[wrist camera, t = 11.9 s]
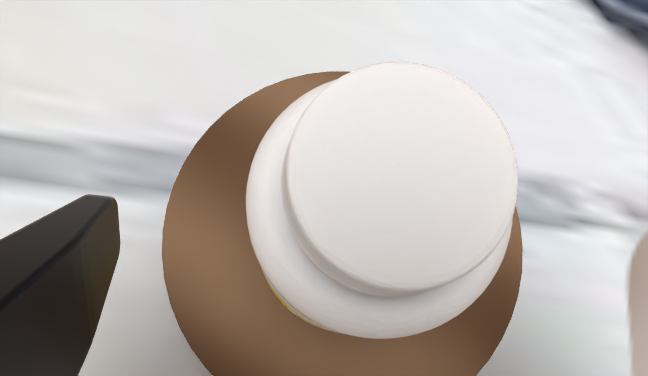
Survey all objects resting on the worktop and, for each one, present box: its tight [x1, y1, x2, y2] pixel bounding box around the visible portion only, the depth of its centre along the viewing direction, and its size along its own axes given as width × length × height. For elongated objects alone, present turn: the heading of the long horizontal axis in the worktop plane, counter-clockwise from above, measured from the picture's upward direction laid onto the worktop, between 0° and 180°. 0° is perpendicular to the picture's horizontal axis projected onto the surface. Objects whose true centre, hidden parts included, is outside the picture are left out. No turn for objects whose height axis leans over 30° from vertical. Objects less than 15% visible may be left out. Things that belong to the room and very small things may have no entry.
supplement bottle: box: [246, 62, 519, 339], centre depth 15 cm, size 6×6×10 cm
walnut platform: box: [162, 72, 522, 376], centre depth 21 cm, size 12×12×3 cm
